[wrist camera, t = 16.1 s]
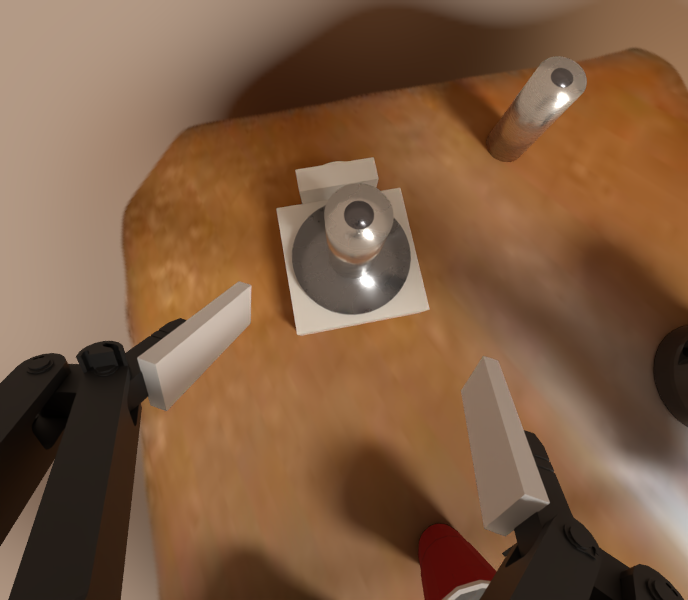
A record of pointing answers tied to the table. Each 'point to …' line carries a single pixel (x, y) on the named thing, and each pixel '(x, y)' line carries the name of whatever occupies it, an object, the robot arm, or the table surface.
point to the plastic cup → (451, 566)
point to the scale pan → (344, 291)
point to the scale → (314, 195)
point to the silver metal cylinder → (356, 228)
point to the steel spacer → (536, 107)
